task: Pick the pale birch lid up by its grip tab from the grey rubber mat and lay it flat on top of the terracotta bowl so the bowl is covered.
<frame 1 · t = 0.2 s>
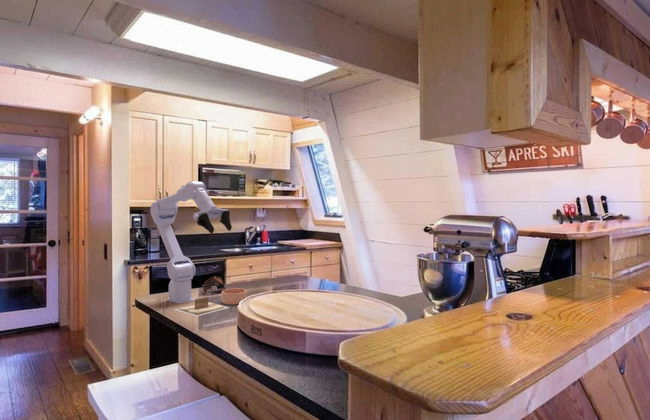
hand: (221, 230, 157), 31 cm above the worktop, tool tilted 45°, fingers open, 7 cm apart
birch lid: (201, 308, 162), resting on grey mat
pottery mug: (215, 292, 191), on the worktop
grey mat: (201, 309, 162), on the worktop
terracotta bowl: (234, 302, 173), on the worktop
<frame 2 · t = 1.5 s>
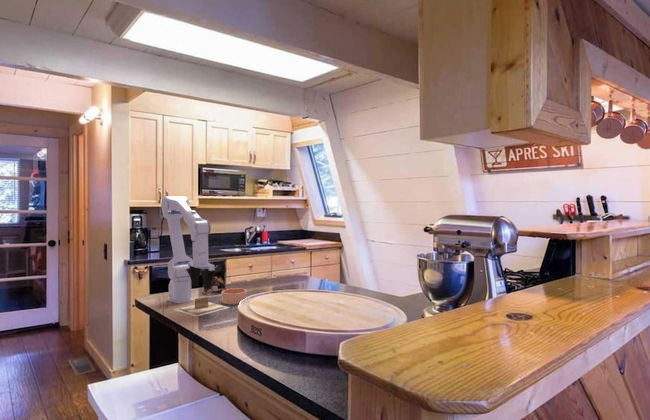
hand: (201, 287, 162), 9 cm above the worktop, tool pointing down, fingers open, 7 cm apart
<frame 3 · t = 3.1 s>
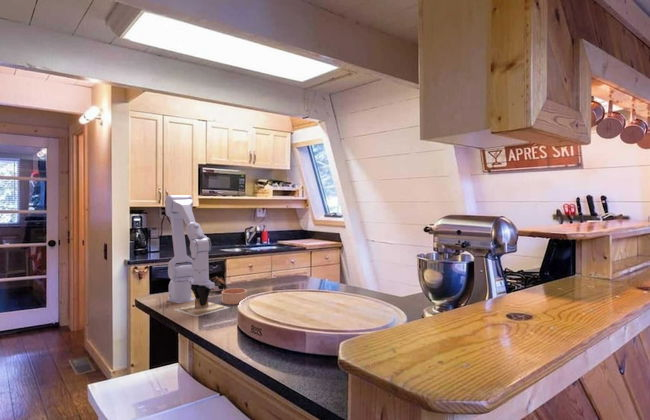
hand: (201, 304, 162), 2 cm above the worktop, tool pointing down, fingers closed on birch lid
birch lid: (201, 308, 162), resting on grey mat, touching gripper
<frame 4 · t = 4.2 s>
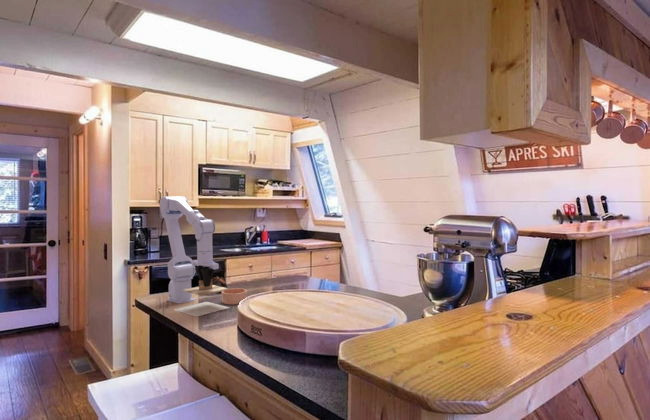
hand: (205, 285, 163), 9 cm above the worktop, tool pointing down, fingers closed on birch lid
birch lid: (205, 290, 164), point 7 cm above the worktop, touching gripper
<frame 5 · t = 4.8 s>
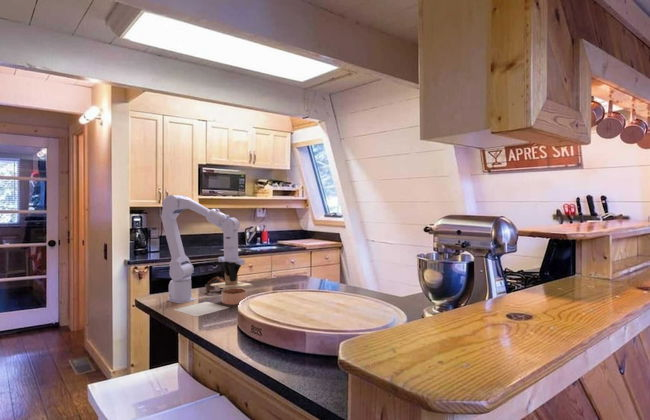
hand: (231, 280, 172), 9 cm above the worktop, tool pointing down, fingers closed on birch lid
birch lid: (231, 285, 172), point 7 cm above the worktop, touching gripper
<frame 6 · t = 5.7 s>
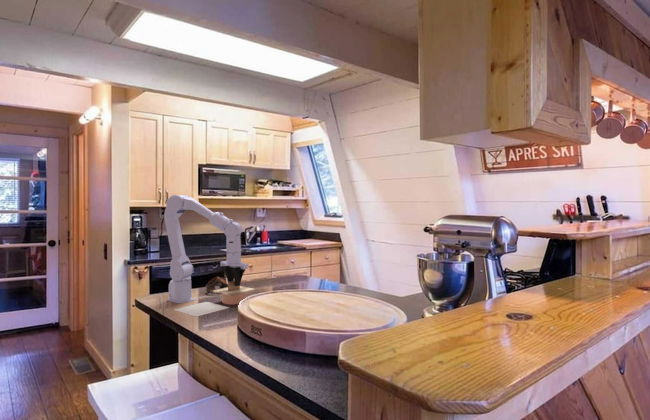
hand: (234, 285, 173), 7 cm above the worktop, tool pointing down, fingers open, 3 cm apart
birch lid: (234, 291, 173), point 4 cm above the worktop, touching terracotta bowl
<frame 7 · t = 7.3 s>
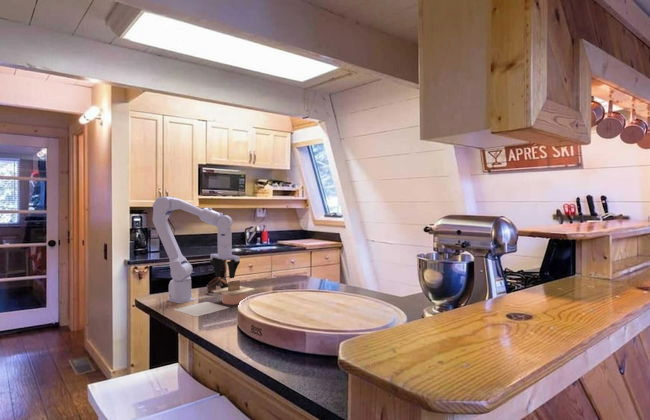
hand: (225, 277, 176), 10 cm above the worktop, tool pointing down, fingers open, 7 cm apart
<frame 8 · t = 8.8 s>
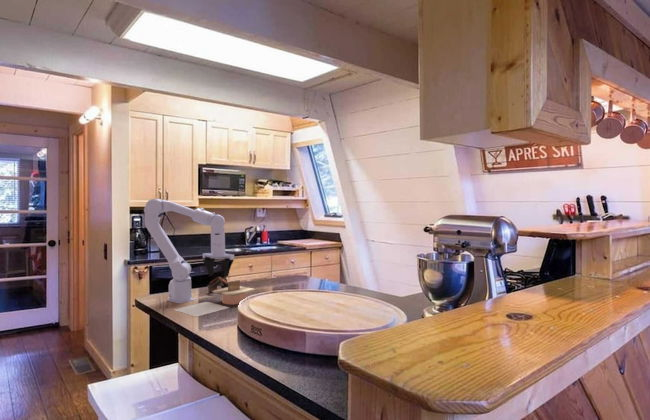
hand: (218, 275, 178), 10 cm above the worktop, tool pointing down, fingers open, 7 cm apart
at the end: birch lid 0.2 cm off-centre on the terracotta bowl, point 4.5 cm above the terracotta bowl's base; birch lid tilted 0°; the gripper is holding nothing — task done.
